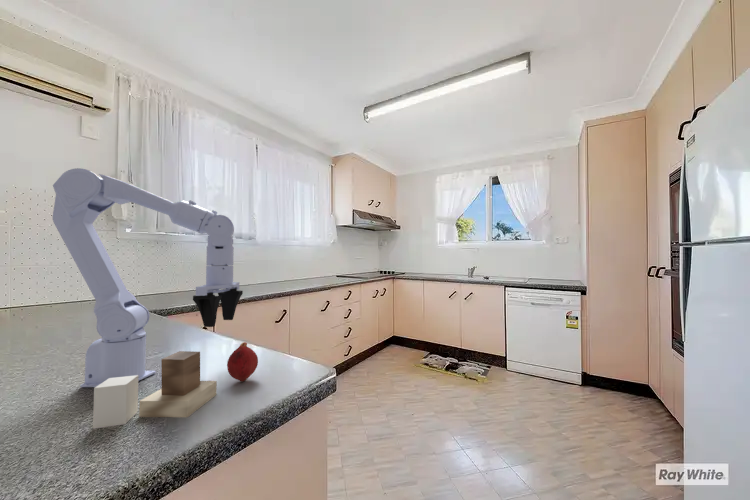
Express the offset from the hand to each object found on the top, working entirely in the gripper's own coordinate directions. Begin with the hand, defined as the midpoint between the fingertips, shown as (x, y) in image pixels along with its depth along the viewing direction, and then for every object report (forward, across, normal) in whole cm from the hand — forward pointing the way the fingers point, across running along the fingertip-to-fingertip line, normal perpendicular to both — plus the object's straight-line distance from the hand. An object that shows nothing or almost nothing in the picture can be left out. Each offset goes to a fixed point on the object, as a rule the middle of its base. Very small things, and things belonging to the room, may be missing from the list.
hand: (219, 323), depth 69 cm
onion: (+11, -8, -10) cm, 16 cm away
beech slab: (+11, -18, -4) cm, 21 cm away
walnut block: (+8, -18, -4) cm, 20 cm away
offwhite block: (+10, -23, +3) cm, 25 cm away
